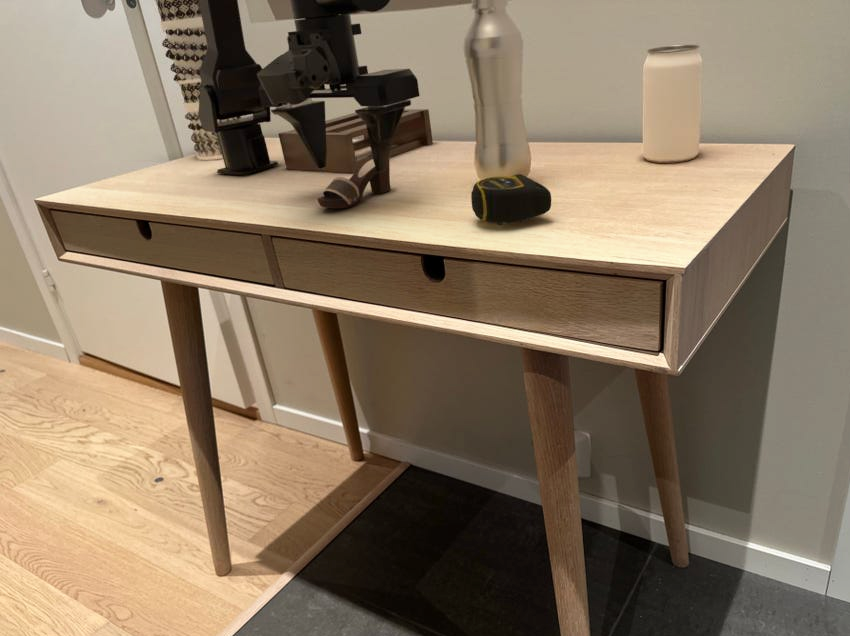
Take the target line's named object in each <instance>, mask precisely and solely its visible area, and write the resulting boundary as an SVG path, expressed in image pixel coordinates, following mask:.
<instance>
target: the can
mask: <svg viewBox="0 0 850 636" xmlns="http://www.w3.org/2000/svg"><path fill="white" fill-rule="evenodd" d="M699 48H700V45H699V44H677V45H666V46H659V47H652V48H649V49H647V50H646V51H647V56H646V59H645V61H644V63H643V70H642V156H643V158H645V160H646V161H647V162H651V163H657V164H673V163H674V164H675V163H682V162H687V161H690V160H693V159H695V158H696V157H697V155H698V154H699V152H700V136H701V114H702V92H703V91H702V89H703V58H702V57H701V54H700V50H699Z"/></svg>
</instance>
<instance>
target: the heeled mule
mask: <svg viewBox="0 0 850 636" xmlns="http://www.w3.org/2000/svg"><path fill="white" fill-rule="evenodd" d="M390 168H391V167H390V158H389V159H388V162H387V166H386V169H385V171H382V172H377V171H376V168H375V164H374V161H373V159H372V160H370V161H368V162H367V163H366V164H364V165H363V166H362V167H360V168H359V169H358V170H357V171H356V172H354V173H352V175H351V177H349V178H346V177H344V176H337V177H335V178H333V180H332V181H331V182H330V183H329V184H328V185H327V187H326V188H325V189H324V190H323V191H322V195H323V196H321V197H318V198H317V202H318V204H319V207H321V208H329V209H347V208H352V207H353V206H354V207H355V206H356V205H357V204H359V203H360V202H361V200H362V198H363V195H364V193H365V190H366V188H367V186H368V184H370V190H371V192H372V193H377V194H383V193H386V192H389V191H391V189H392V188H391V177H390V175H391V173H390V171H391V170H390Z"/></svg>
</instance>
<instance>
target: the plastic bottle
mask: <svg viewBox="0 0 850 636" xmlns="http://www.w3.org/2000/svg"><path fill="white" fill-rule="evenodd" d="M506 6H509V0H471V6H470V9H471V10H474V16H473V18H472V21H471V23H470V25H469V27H468V29H467V31H466V34H465V37H464V39H463V47H462V50H463V56H464V59H465V64H466V69H467V73H468V77H469V82H470V88H471V93H472V99H473V109H474V119H475V120H474V122H475V123H474V124H475V125H474V126H475V127H474V128H475V145H474V159H473V161H474V162H473V163H474V168H475V172H476V176H477V178H478V179H479V181H480V180H483V179H486V178H490V177H498V176H513V175H517V174H521V175H524V176H526V177H527V178H528V176H529V174H530V172H531V168H532V153H531V149H530V144H529V140H528V139H527V131H526V124H525V117H524V112H523V110H524V109H523V98H522V94H523V87H522V85H523V84H522V75H523V60H524V59H523V58H524V53H523V52H524V39H523V36H522V33H521V31H520V29H519V28H518V26H517V25H516V23H515V22H514V20H513V19H512V18H511V17H510V15H509V14H508V13H507V9H506Z"/></svg>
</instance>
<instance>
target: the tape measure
mask: <svg viewBox="0 0 850 636" xmlns="http://www.w3.org/2000/svg"><path fill="white" fill-rule="evenodd" d="M470 193H471V195H470V199H471V208H472V211H473V213H474V216H475V217H477V218H478V219H479V220H480V221H483V222H487V223H493V224H496V225H498V226H502V225H505V224H514V223H520V222H521V223H522V222H523V221H527V220H529V219H533V218H535V217H540V216H542V215H544V214H546V213H548V212H549V211H550V210H551V208H552V194H551V191H550V190H549V189H548V188H547V187H546V186H544V185H543V184H541V183H540V182H538V181H535V180H534V179H531V178H530V177H528V176H527V177H526V176H524V175H521V174H517V175H513V176H498V177H490V178H486V179H483V180H480V179H479V180H478V181H477V182H475V183H474V185H473V187H472V191H471V192H470Z"/></svg>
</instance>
